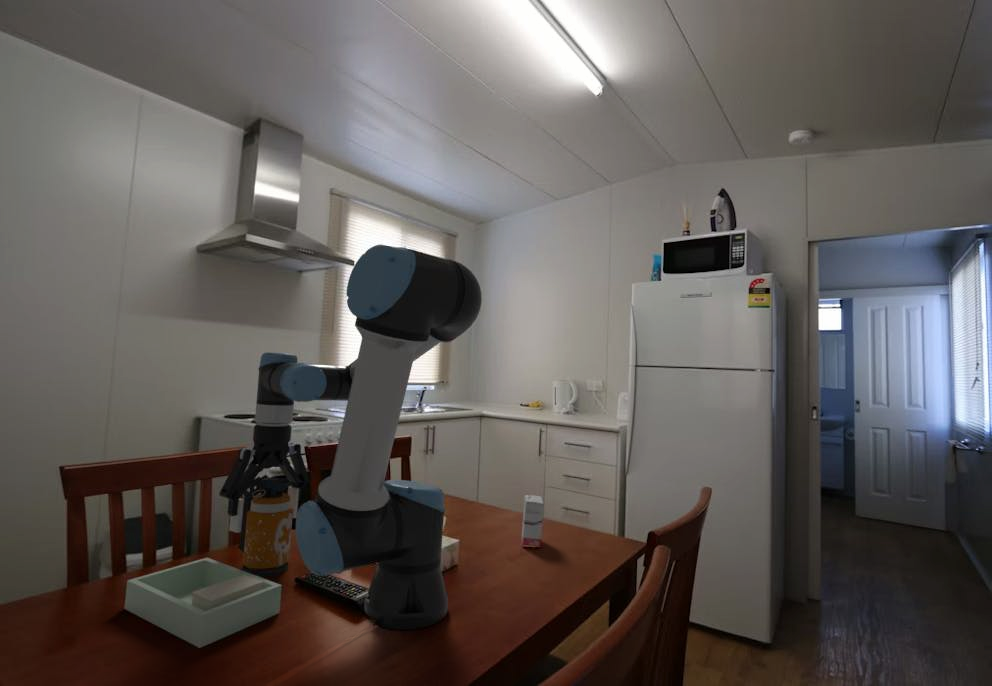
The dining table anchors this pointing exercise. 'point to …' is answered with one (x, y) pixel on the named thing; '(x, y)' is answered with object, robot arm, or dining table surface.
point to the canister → (266, 527)
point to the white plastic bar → (225, 592)
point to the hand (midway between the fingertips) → (264, 523)
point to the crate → (172, 610)
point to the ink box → (532, 520)
